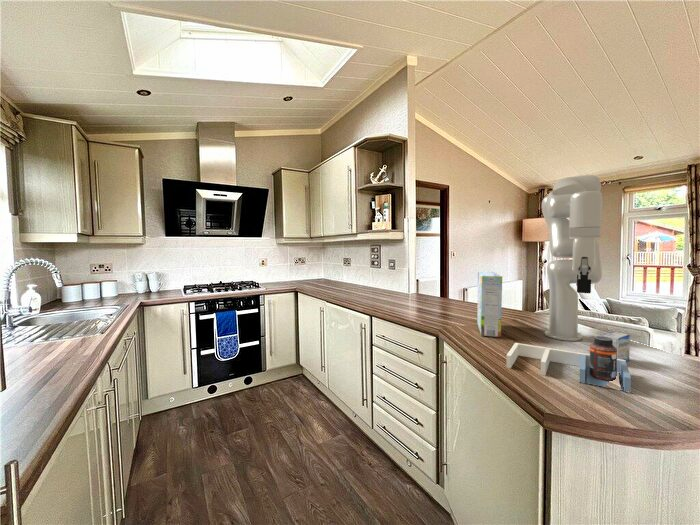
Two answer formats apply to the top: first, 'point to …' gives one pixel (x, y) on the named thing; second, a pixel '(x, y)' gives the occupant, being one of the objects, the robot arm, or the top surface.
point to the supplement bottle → (603, 359)
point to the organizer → (565, 362)
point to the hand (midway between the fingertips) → (583, 289)
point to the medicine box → (620, 344)
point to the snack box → (489, 304)
